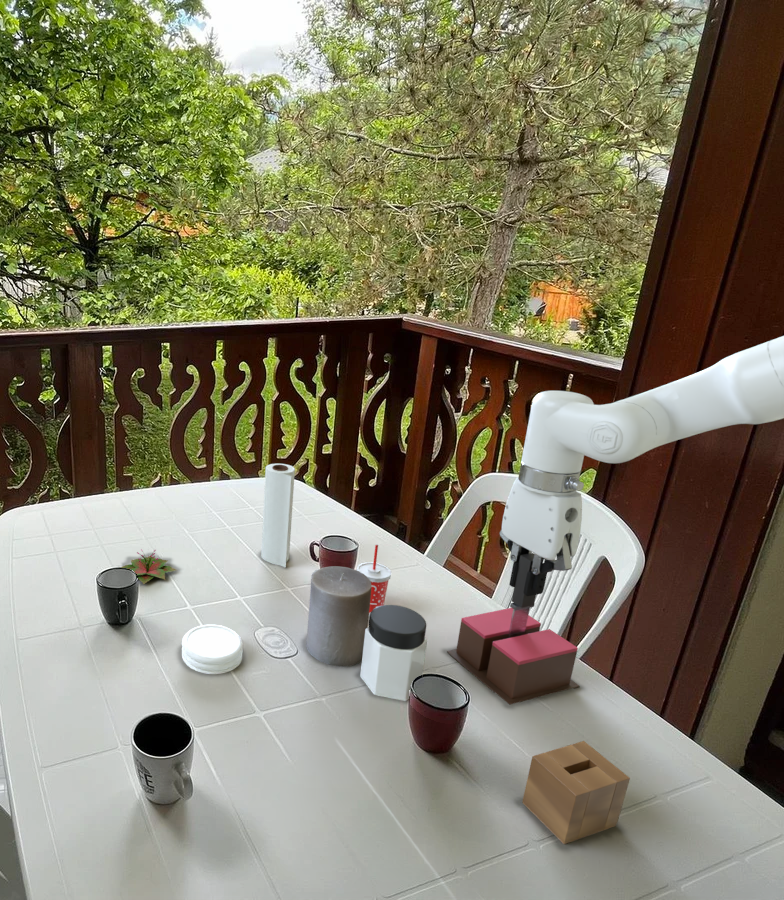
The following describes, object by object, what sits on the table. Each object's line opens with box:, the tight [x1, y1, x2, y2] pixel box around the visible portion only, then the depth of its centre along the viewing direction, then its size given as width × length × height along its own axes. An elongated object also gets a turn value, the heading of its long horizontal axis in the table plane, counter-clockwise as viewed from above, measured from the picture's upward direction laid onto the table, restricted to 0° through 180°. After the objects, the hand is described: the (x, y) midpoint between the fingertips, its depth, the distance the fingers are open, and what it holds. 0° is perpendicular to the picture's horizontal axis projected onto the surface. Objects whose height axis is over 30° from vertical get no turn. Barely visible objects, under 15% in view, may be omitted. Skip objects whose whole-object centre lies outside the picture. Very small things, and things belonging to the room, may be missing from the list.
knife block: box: [522, 740, 631, 845], centre depth 75 cm, size 8×6×8 cm
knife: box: [508, 552, 537, 638], centre depth 99 cm, size 4×2×19 cm, turn 108°
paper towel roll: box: [260, 463, 296, 568], centre depth 134 cm, size 7×6×21 cm
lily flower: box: [120, 548, 177, 585], centre depth 132 cm, size 12×12×5 cm
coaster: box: [181, 624, 244, 675], centre depth 104 cm, size 10×10×4 cm
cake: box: [446, 607, 581, 705], centre depth 101 cm, size 14×14×8 cm
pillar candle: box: [306, 565, 372, 667], centre depth 105 cm, size 10×10×15 cm
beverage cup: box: [356, 544, 392, 617], centre depth 116 cm, size 6×6×14 cm
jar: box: [359, 604, 428, 702], centre depth 97 cm, size 9×8×12 cm
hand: (525, 588), depth 97 cm, fingers closed on knife, 2 cm apart
